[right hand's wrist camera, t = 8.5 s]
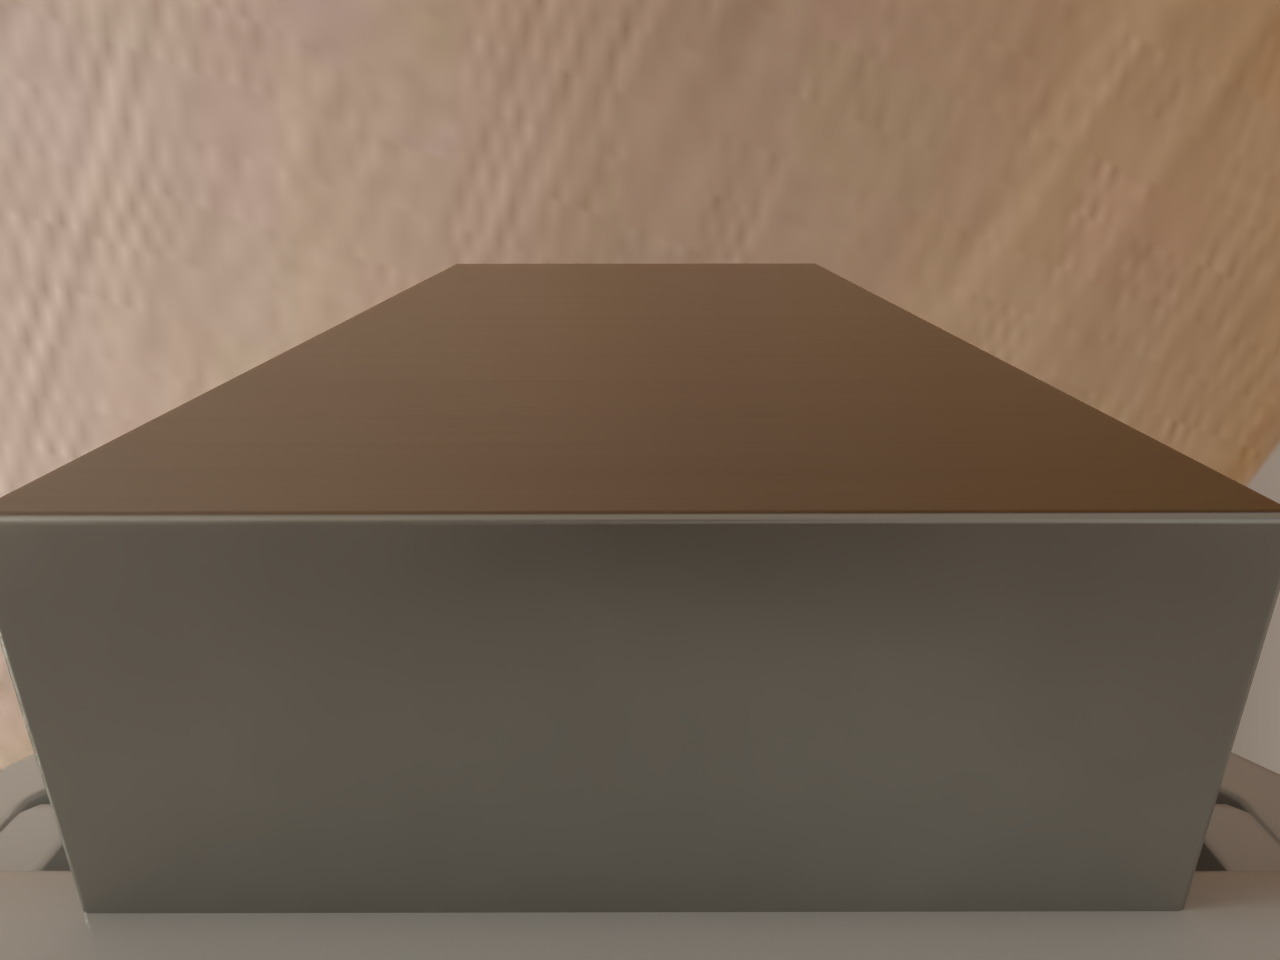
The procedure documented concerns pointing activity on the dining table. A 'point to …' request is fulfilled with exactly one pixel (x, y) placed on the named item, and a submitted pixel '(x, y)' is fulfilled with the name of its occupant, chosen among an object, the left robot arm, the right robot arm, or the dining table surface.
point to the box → (634, 617)
